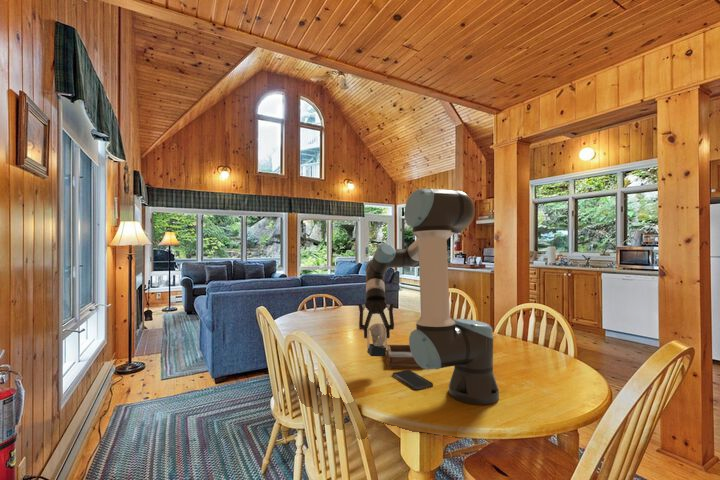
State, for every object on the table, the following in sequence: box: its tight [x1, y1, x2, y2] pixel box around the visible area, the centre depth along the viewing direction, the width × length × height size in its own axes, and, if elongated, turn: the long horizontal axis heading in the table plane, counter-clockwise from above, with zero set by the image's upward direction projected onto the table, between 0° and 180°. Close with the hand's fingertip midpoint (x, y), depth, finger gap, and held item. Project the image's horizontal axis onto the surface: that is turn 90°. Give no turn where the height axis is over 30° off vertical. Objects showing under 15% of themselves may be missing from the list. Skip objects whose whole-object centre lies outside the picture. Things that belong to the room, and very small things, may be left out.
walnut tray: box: [385, 344, 422, 369], centre depth 146 cm, size 17×15×4 cm
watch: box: [366, 323, 387, 358], centre depth 130 cm, size 6×8×11 cm
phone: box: [392, 369, 434, 391], centre depth 125 cm, size 8×1×15 cm
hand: (377, 345), depth 127 cm, fingers closed on watch, 5 cm apart
